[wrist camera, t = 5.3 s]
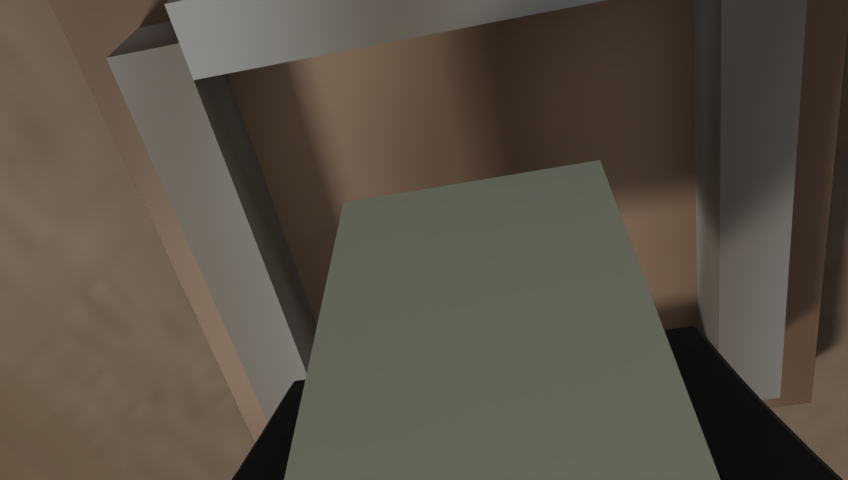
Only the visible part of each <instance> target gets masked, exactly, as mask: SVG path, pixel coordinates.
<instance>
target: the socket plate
mask: <svg viewBox="0 0 848 480" xmlns="http://www.w3.org/2000/svg"><path fill="white" fill-rule="evenodd" d="M49 1H50V3H51V5H52V7H53V9H54V12H55V14H56V16H57V18H58V20H59V22H60V24H61V27H62V29H63V31H64V33H65V35H66V37H67V39H68V42H69V44H70V46H71V48H72V50H73V52H74V55H75V57H76V59H77V61H78V63H79V65H80V67H81V70H82V72H83V74H84V76H85V78H86V80H87V82H88V85H89V87H90V89H91V91H92V93H93V95H94V98H95V100H96V102H97V104H98V106H99V108H100V110H101V113H102V115H103V117H104V119H105V121H106V123H107V125H108V128H109V130H110V132H111V134H112V136H113V138H114V140H115V143H116V145H117V147H118V149H119V151H120V153H121V156H122V158H123V160H124V162H125V164H126V166H127V168H128V171H129V173H130V175H131V177H132V179H133V181H134V183H135V186H136V188H137V190H138V192H139V194H140V196H141V199H142V201H143V203H144V205H145V207H146V209H147V211H148V214H149V216H150V218H151V220H152V222H153V224H154V226H155V229H156V231H157V233H158V235H159V237H160V239H161V241H162V244H163V246H164V248H165V250H166V252H167V254H168V257H169V259H170V261H171V263H172V265H173V267H174V269H175V272H176V274H177V276H178V278H179V280H180V282H181V284H182V287H183V289H184V291H185V293H186V295H187V297H188V300H189V302H190V304H191V306H192V308H193V310H194V312H195V315H196V317H197V319H198V321H199V323H200V325H201V327H202V330H203V332H204V334H205V336H206V338H207V340H208V342H209V345H210V347H211V349H212V351H213V353H214V355H215V358H216V360H217V362H218V364H219V366H220V368H221V370H222V373H223V375H224V377H225V379H226V381H227V383H228V385H229V388H230V390H231V392H232V394H233V396H234V398H235V401H236V403H237V405H238V407H239V409H240V411H241V413H242V416H243V418H244V420H245V422H246V424H247V426H248V428H249V431H250V433H251V435H252V437H253V439H254V441H255V443H256V441H257V440H258V438H259V436H260V435H261V433H262V431H263V430H264V428H265V427H266V425H267V423H268V422H269V420H270V418H271V417H272V415H273V414H274V412H275V410H276V409H277V407H278V405H279V404H280V402H281V401H282V399H283V397H284V396H285V394H286V393H287V391H288V389H289V388H290V387H291V385H292V384H293V383H294V381H298V380H305V379H306V375H307V370H308V365H309V361H310V356H311V351H312V347H313V342H314V337H315V333H316V328H317V323H318V319H319V314H320V309H321V305H322V300H323V295H324V291H325V286H326V281H327V277H328V272H329V267H330V263H331V258H332V253H333V249H334V244H335V239H336V235H337V230H338V225H339V221H340V216H341V211H342V207H343V203H344V202H350V201H356V200H362V199H368V198H374V197H380V196H386V195H392V194H398V193H404V192H410V191H416V190H422V189H428V188H434V187H440V186H446V185H452V184H458V183H465V182H471V181H477V180H483V179H489V178H495V177H501V176H507V175H513V174H519V173H525V172H531V171H537V170H543V169H549V168H555V167H561V166H567V165H573V164H579V163H585V162H591V161H597V160H600V161H601V164H602V167H603V169H604V172H605V175H606V177H607V180H608V183H609V185H610V188H611V191H612V193H613V196H614V199H615V201H616V204H617V207H618V209H619V212H620V214H621V217H622V220H623V222H624V225H625V228H626V230H627V233H628V236H629V238H630V241H631V244H632V246H633V249H634V252H635V254H636V257H637V260H638V262H639V265H640V268H641V270H642V273H643V275H644V278H645V281H646V283H647V286H648V289H649V291H650V294H651V297H652V299H653V302H654V305H655V307H656V310H657V313H658V315H659V318H660V321H661V323H662V326H663V329H664V330H666V329H674V328H681V327H688V326H694V327H696V328H697V329H699V330H700V331H702V332H703V334H704V335H705V336H706V337H707V339H708V340H709V341H710V342H711V343H712V345H713V346H714V347H715V348H716V349H717V351H718V352H719V353H720V354H721V355H722V357H723V358H724V359H725V360H726V361H727V362H728V363H729V365H730V366H731V367H732V368H733V369H734V370H735V371H736V372H737V374H738V375H739V376H740V377H741V378H742V379H743V380H744V381H745V382H746V384H747V385H748V386H749V387H750V388H751V389H752V390H753V391H754V392H755V393H756V394H757V395H758V396H759V398H760V399H761V400H762V401H763V402H764V403H765V404H766V405H767V406H768V407H769V408H770V407H778V406H786V405H794V404H803V403H811V398H812V388H813V378H814V367H815V357H816V347H817V337H818V327H819V317H820V307H821V296H822V286H823V276H824V266H825V256H826V246H827V236H828V225H829V215H830V205H831V195H832V185H833V175H834V164H835V154H836V144H837V134H838V124H839V114H840V104H841V93H842V83H843V73H844V63H845V53H846V43H847V33H848V0H49Z"/></svg>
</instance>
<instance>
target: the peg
mask: <svg viewBox="0 0 848 480" xmlns="http://www.w3.org/2000/svg"><path fill="white" fill-rule="evenodd" d="M284 480H720V477H719V474H718V472H717V469H716V466H715V464H714V461H713V458H712V456H711V453H710V451H709V448H708V445H707V443H706V440H705V437H704V435H703V432H702V429H701V427H700V424H699V421H698V419H697V416H696V413H695V411H694V408H693V405H692V403H691V400H690V397H689V395H688V392H687V390H686V387H685V384H684V382H683V379H682V376H681V374H680V371H679V368H678V366H677V363H676V360H675V358H674V355H673V352H672V350H671V347H670V344H669V342H668V339H667V336H666V334H665V331H664V329H663V326H662V323H661V321H660V318H659V315H658V313H657V310H656V307H655V305H654V302H653V299H652V297H651V294H650V291H649V289H648V286H647V283H646V281H645V278H644V275H643V273H642V270H641V268H640V265H639V262H638V260H637V257H636V254H635V252H634V249H633V246H632V244H631V241H630V238H629V236H628V233H627V230H626V228H625V225H624V222H623V220H622V217H621V214H620V212H619V209H618V207H617V204H616V201H615V199H614V196H613V193H612V191H611V188H610V185H609V183H608V180H607V177H606V175H605V172H604V169H603V167H602V164H601V161H600V160H597V161H591V162H585V163H579V164H573V165H567V166H561V167H555V168H549V169H543V170H537V171H531V172H525V173H519V174H513V175H507V176H501V177H495V178H489V179H483V180H477V181H471V182H465V183H458V184H452V185H446V186H440V187H434V188H428V189H422V190H416V191H410V192H404V193H398V194H392V195H386V196H380V197H374V198H368V199H362V200H356V201H350V202H344V203H343V207H342V211H341V216H340V221H339V225H338V230H337V235H336V239H335V244H334V249H333V253H332V258H331V263H330V267H329V272H328V277H327V281H326V286H325V291H324V295H323V300H322V305H321V309H320V314H319V319H318V323H317V328H316V333H315V337H314V342H313V347H312V351H311V356H310V361H309V365H308V370H307V375H306V379H305V384H304V389H303V393H302V398H301V403H300V407H299V412H298V417H297V421H296V426H295V431H294V435H293V440H292V445H291V449H290V454H289V459H288V463H287V468H286V473H285V477H284Z"/></svg>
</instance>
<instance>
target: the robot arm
mask: <svg viewBox="0 0 848 480" xmlns="http://www.w3.org/2000/svg"><path fill="white" fill-rule="evenodd" d="M664 331H665V334H666V336H667V339H668V342H669V344H670V347H671V350H672V352H673V355H674V358H675V360H676V363H677V366H678V368H679V371H680V374H681V376H682V379H683V382H684V384H685V387H686V390H687V392H688V395H689V397H690V400H691V403H692V405H693V408H694V411H695V413H696V416H697V419H698V421H699V424H700V427H701V429H702V432H703V435H704V437H705V440H706V443H707V445H708V448H709V451H710V453H711V456H712V458H713V461H714V464H715V466H716V469H717V472H718V474H719V477H720V480H843V479H842V478H841V477H839V476H838V475H837V474H836V473H835V472H834V471H833V470H832V469H831V468H830V467H829V466H828V465H827V464H826V463H824V462H823V461H822V460H821V459H820V458H819V457H818V456H817V455H816V454H815V453H814V452H813V451H812V450H811V449H810V448H809V447H808V446H807V445H806V444H805V443H804V442H803V441H802V440H801V439H800V438H799V437H798V436H797V435H796V434H795V433H794V432H793V431H792V430H791V429H790V428H789V427H788V426H787V425H786V424H785V423H784V422H783V421H782V420H781V419H780V418H779V417H778V416H777V415H776V414H775V413H774V412H773V411H772V410H771V409H770V408H769V407H768V406H767V405H766V404H765V403H764V402H763V401H762V400H761V399H760V398H759V396H758V395H757V394H756V393H755V392H754V391H753V390H752V389H751V388H750V387H749V386H748V385H747V384H746V382H745V381H744V380H743V379H742V378H741V377H740V376H739V375H738V374H737V372H736V371H735V370H734V369H733V368H732V367H731V366H730V365H729V363H728V362H727V361H726V360H725V359H724V358H723V357H722V355H721V354H720V353H719V352H718V351H717V349H716V348H715V347H714V346H713V345H712V343H711V342H710V341H709V340H708V339H707V337H706V336H705V335H704V334H703V332H702V331H700V330H699V329H697V328H696V327H694V326H688V327H681V328H674V329H666V330H664ZM304 384H305V380H298V381H294V383H293V384H292V385H291V387H290V388H289V389H288V391H287V393H286V394H285V396H284V397H283V399H282V401H281V402H280V404H279V405H278V407H277V409H276V410H275V412H274V414H273V415H272V417H271V418H270V420H269V422H268V423H267V425H266V427H265V428H264V430H263V431H262V433H261V435H260V436H259V438H258V440H257V441H256V443H255V444H254V446H253V447H252V449H251V451H250V452H249V454H248V455H247V457H246V459H245V460H244V462H243V463H242V465H241V466H240V468H239V470H238V471H237V473H236V474H235V476H234V477H233V479H232V480H284V477H285V473H286V468H287V463H288V459H289V454H290V449H291V445H292V440H293V435H294V431H295V426H296V421H297V417H298V412H299V407H300V403H301V398H302V393H303V389H304Z"/></svg>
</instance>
